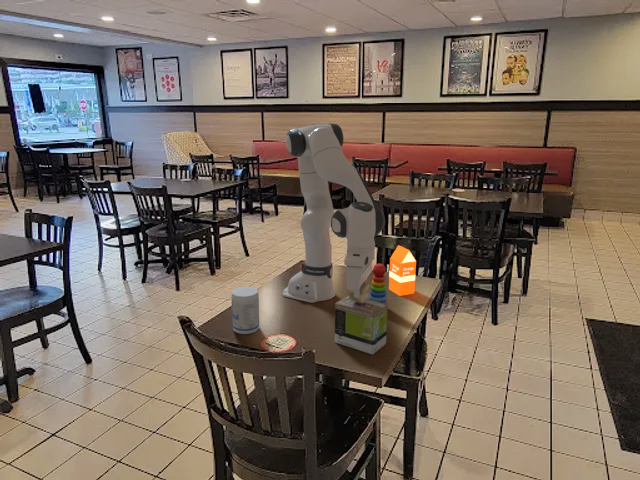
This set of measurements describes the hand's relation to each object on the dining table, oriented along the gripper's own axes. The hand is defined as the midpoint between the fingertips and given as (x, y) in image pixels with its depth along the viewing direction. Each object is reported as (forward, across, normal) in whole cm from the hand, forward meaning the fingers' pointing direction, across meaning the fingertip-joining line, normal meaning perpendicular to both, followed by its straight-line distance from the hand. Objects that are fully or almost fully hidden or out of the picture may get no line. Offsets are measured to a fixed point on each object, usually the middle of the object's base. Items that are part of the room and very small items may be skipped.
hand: (359, 293), depth 150 cm
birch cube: (+2, 0, 0) cm, 2 cm away
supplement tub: (+18, +3, -41) cm, 45 cm away
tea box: (+18, 0, +1) cm, 18 cm away
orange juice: (+18, -52, +6) cm, 55 cm away
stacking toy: (+18, -30, 0) cm, 35 cm away
